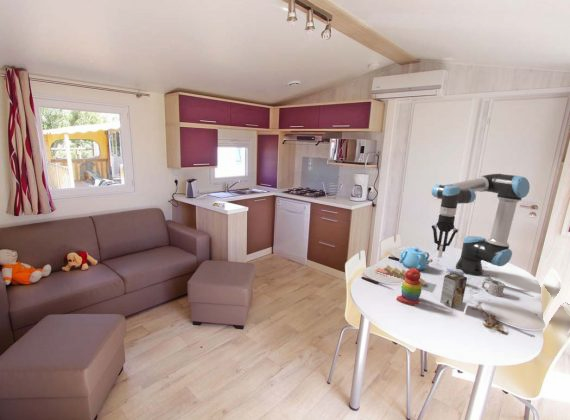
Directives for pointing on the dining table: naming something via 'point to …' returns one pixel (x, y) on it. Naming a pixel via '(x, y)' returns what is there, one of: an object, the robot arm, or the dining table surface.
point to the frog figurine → (494, 325)
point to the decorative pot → (414, 258)
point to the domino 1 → (383, 271)
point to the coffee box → (453, 290)
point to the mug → (494, 287)
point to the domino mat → (428, 287)
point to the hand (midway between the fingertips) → (439, 256)
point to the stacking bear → (411, 288)
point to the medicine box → (454, 271)
